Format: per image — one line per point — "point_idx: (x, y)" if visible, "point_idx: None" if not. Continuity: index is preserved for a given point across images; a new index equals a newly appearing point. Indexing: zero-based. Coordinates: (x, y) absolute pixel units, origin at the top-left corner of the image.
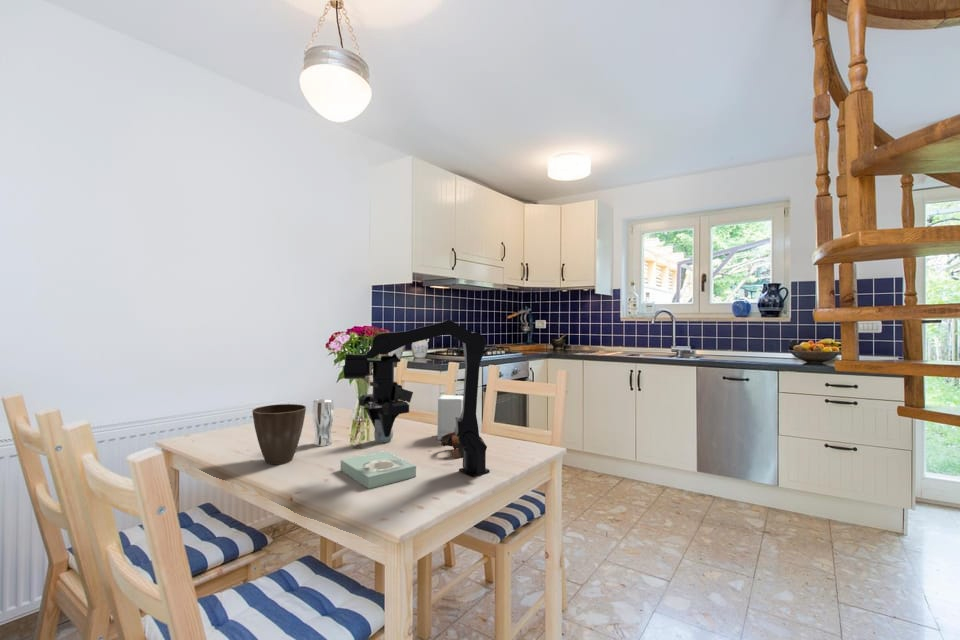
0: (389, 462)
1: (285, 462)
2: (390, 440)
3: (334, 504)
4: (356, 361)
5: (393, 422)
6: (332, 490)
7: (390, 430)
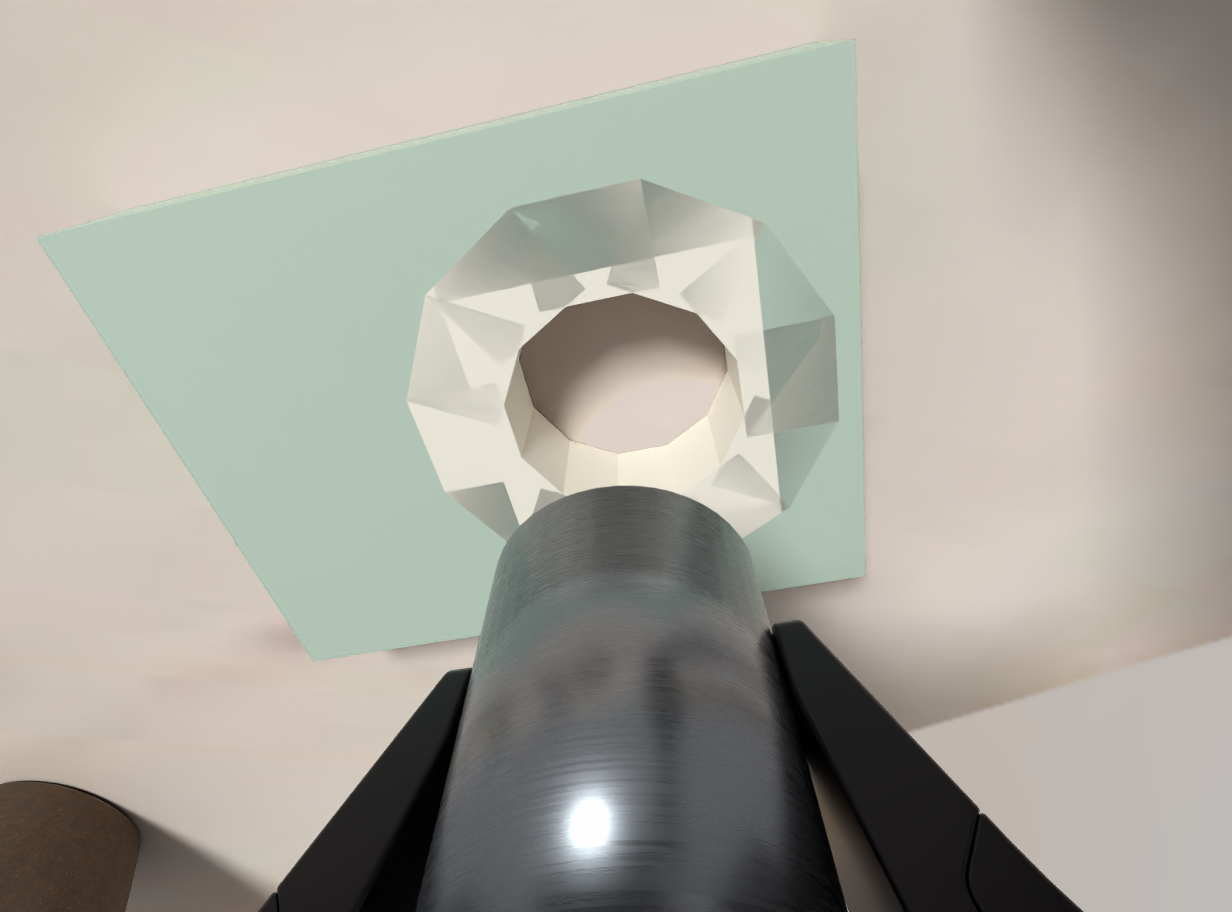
0: (552, 318)
1: (115, 812)
2: (710, 513)
3: (938, 697)
4: None
5: (1055, 888)
6: None
7: (876, 709)
